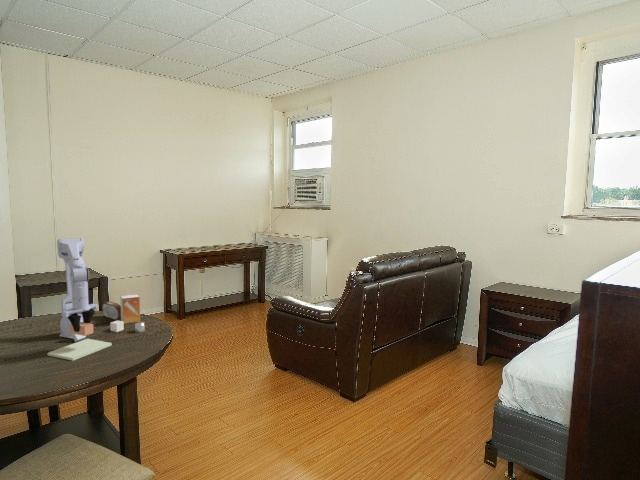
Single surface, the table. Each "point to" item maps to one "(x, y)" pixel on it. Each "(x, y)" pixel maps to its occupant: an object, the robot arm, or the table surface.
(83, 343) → the board
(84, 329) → the terracotta brick
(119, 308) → the tin
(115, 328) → the off-white cube
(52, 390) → the table surface
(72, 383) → the table surface
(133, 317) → the small box
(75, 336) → the grey-blue slab
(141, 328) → the light grey cylinder
